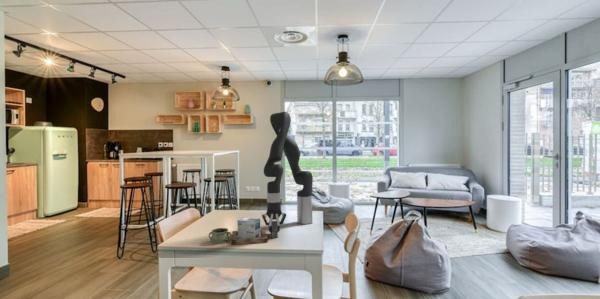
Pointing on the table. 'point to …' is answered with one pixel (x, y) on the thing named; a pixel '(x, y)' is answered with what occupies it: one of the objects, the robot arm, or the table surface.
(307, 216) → the robot arm
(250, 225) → the light bulb box
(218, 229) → the vessel
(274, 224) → the pull frame
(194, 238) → the table surface
